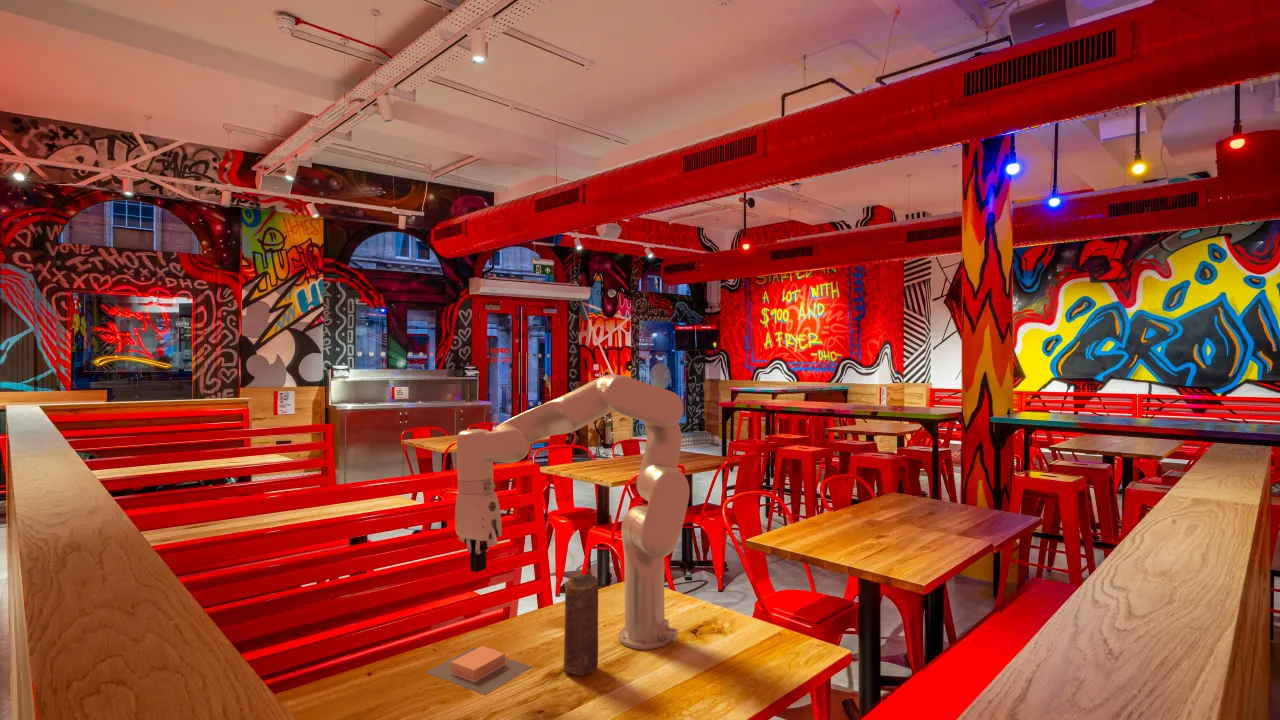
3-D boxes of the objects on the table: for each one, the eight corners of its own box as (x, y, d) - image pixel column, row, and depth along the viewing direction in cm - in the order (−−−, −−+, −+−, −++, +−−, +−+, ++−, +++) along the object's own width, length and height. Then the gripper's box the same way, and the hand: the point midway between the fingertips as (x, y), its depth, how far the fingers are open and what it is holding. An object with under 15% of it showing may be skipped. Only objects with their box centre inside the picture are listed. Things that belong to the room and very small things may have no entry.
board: (532, 671, 144) (532, 666, 144) (485, 700, 133) (485, 695, 133) (474, 651, 154) (473, 647, 154) (424, 676, 142) (424, 672, 142)
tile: (482, 657, 149) (505, 664, 145) (451, 673, 142) (474, 682, 138) (482, 645, 149) (505, 653, 145) (450, 661, 142) (474, 670, 138)
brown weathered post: (605, 669, 145) (604, 577, 145) (584, 683, 139) (583, 587, 139) (578, 660, 149) (577, 571, 149) (556, 673, 143) (555, 580, 143)
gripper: (513, 486, 145) (515, 570, 145) (464, 480, 153) (467, 560, 153) (488, 493, 138) (490, 581, 139) (438, 486, 146) (441, 569, 147)
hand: (478, 569), depth 146 cm, fingers closed
